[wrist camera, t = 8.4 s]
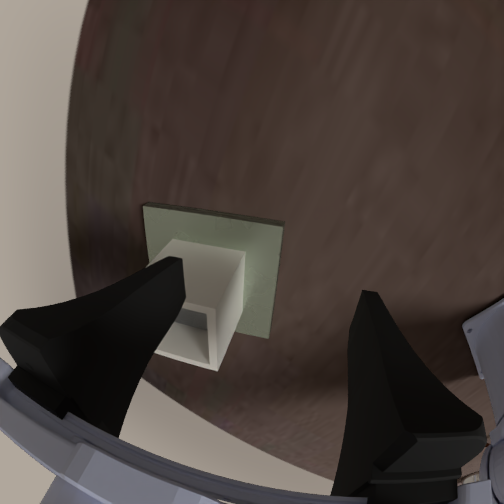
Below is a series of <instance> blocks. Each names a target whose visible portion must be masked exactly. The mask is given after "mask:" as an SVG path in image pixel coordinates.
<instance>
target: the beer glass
mask: <svg viewBox="0 0 504 504" xmlns="http://www.w3.org/2000/svg"><path fill="white" fill-rule="evenodd" d="M476 481H479V471H478V472H475V473H472V474H470V475H468V476H466V477H464V478H463V479H462V480H461V483H462V485H463V484H466V483H471V482H476Z"/></svg>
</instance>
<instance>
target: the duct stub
mask: <svg viewBox="0 0 504 504" xmlns="http://www.w3.org/2000/svg"><path fill="white" fill-rule="evenodd" d="M143 213H144V223H145V232H146V240H147V248H148V256H149V263H150V262H151V261H152V260H153V259H154V258H155V257H156V256H157V255H158V254H159V253H160V252H161V251H162V249H163V248H164V247H165V246H166V245H167V244H168V243H169V242H170V241H171V240H172V239H176V240H182V241H187V242H193V243H199V244H204V245H210V246H216V247H222V248H227V249H233V250H239V251H244V252H245V270H244V289H243V310H242V314H241V317H240V319H239V321H238V324H237V326H236V329H235V332H239V333H244V334H248V335H253V336H258V337H262V338H267V339H269V335H270V331H271V324H272V317H273V310H274V303H275V296H276V288H277V281H278V273H279V266H280V258H281V250H282V242H283V234H284V225H285V222H283V221H276V220H270V219H264V218H258V217H251V216H245V215H238V214H232V213H225V212H218V211H211V210H204V209H197V208H190V207H183V206H175V205H168V204H160V203H152V202H148V203H146V204H145V205H144V206H143ZM174 322H176V323H180V324H184V325H188V326H191V327H195V328H199V329H203V330H207V331H208V328H207V314H204V313H200V312H196V311H192V310H188V309H184V308H181V310H180V312H179V314H178V316H177V318H176V320H175V321H174Z"/></svg>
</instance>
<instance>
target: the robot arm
mask: <svg viewBox="0 0 504 504" xmlns="http://www.w3.org/2000/svg"><path fill="white" fill-rule="evenodd" d="M185 299H186V291H185V281H184V271H183V260H182V258H178V257H173V256H168V257H165V258H163V259H161V260H159V261H157V262H155V263H153V264H152V265H150V266H148V267H146V268H144V269H142V270H140V271H138V272H136V273H135V274H133V275H131V276H129V277H127V278H125V279H123V280H121V281H119V282H116V283H114V284H112V285H110V286H108V287H106V288H104V289H101V290H99V291H96V292H94V293H91V294H88V295H86V296H82V297H79V298H76V299H73V300H69V301H66V302H63V303H58V304H54V305H49V306H44V307H37V308H29V309H20V310H16V311H15V312H14V313H13V314H12V315H11V316H10V317H9V318H8V319H7V320H6V321H5V322H4V323H3V324H2V325H1V326H0V337H1V339H2V341H3V343H4V344H5V346H6V348H7V350H8V351H9V353H10V354H11V356H12V358H13V359H14V360H15V362H16V364H17V367H16V368H15V369H13V368H12V367H11V366H10V365H9V364H8V363H6V362H5V361H4V360H3V359H1V358H0V430H1V431H2V432H3V433H4V434H5V435H7V436H8V437H9V438H10V439H11V440H12V441H13V442H14V443H15V444H17V445H18V446H19V447H20V448H21V449H23V450H24V451H25V452H26V453H28V454H29V455H30V456H31V457H32V458H34V459H35V460H36V461H38V462H39V463H40V464H41V465H43V466H44V467H46V468H47V469H48V470H50V471H51V472H52V473H54V474H55V475H56V477H55V479H54V481H53V482H52V484H51V486H50V488H49V489H48V491H47V493H46V494H45V496H44V498H43V499H42V501H41V503H40V504H226V503H223V502H220V501H219V500H223V501H227V502H231V503H235V504H504V298H503V299H502V300H500V301H499V302H497V303H495V304H494V305H492V306H491V307H489V308H487V309H486V310H484V311H482V312H481V313H479V314H477V315H475V316H474V317H472V318H470V319H468V320H467V321H465V322H464V323H463V325H462V328H463V330H464V333H465V336H466V338H467V341H468V344H469V347H470V349H471V352H472V355H473V358H474V361H475V364H476V367H477V371H478V374H479V377H480V379H485V383H486V386H487V390H488V394H489V397H490V401H491V405H492V409H493V414H494V418H495V423H496V428H495V429H494V430H492V431H491V432H490V439H491V444H490V445H489V446H488V447H487V448H486V449H485V451H484V453H483V456H482V460H481V464H480V470H479V481H476V482H471V483H466V484H463V485H460V486H457V479H459V478H460V477H461V475H462V472H461V467H462V466H463V465H465V464H466V463H468V462H469V461H470V460H472V459H473V458H474V457H476V456H477V455H478V454H479V453H480V452H481V451H482V450H483V449H484V447H485V446H486V444H487V438H486V432H485V427H484V422H483V418H482V416H480V415H479V414H478V413H476V412H475V411H474V410H472V409H471V408H470V407H468V406H467V405H466V404H464V403H463V402H462V401H461V400H459V399H458V398H457V397H456V396H455V395H454V394H453V393H451V392H450V391H449V390H448V389H447V388H446V387H445V386H444V385H443V384H442V383H441V382H440V381H439V380H438V379H437V378H436V377H435V376H434V375H433V374H432V372H431V371H430V370H429V369H428V368H427V367H426V366H425V364H424V363H423V362H422V361H421V359H420V358H419V357H418V356H417V354H416V353H415V352H414V350H413V349H412V348H411V346H410V345H409V343H408V342H407V340H406V339H405V337H404V336H403V334H402V333H401V331H400V330H399V328H398V326H397V325H396V323H395V322H394V320H393V318H392V316H391V315H390V313H389V311H388V310H387V308H386V306H385V304H384V303H383V301H382V299H381V297H380V296H379V294H378V292H372V291H366V290H362V293H361V296H360V299H359V302H358V305H357V309H356V312H355V315H354V318H353V321H352V324H351V326H350V331H349V341H348V410H347V418H346V425H345V432H344V438H343V444H342V449H341V454H340V459H339V463H338V468H337V472H336V476H335V480H334V484H333V488H332V491H331V495H330V496H327V495H317V494H308V493H300V492H292V491H287V490H280V489H275V488H269V487H263V486H259V485H254V484H250V483H245V482H241V481H237V480H233V479H229V478H225V477H221V476H217V475H214V474H211V473H207V472H204V471H201V470H197V469H194V468H191V467H188V466H185V465H182V464H179V463H177V462H174V461H171V460H168V459H166V458H163V457H161V456H158V455H155V454H153V453H150V452H148V451H145V450H143V449H141V448H139V447H136V446H134V445H132V444H130V443H127V442H125V441H123V440H121V439H119V435H120V431H121V428H122V425H123V422H124V419H125V416H126V413H127V410H128V408H129V405H130V402H131V399H132V397H133V395H134V392H135V390H136V388H137V385H138V383H139V381H140V379H141V377H142V374H143V372H144V370H145V368H146V366H147V364H148V362H149V360H150V359H151V357H152V355H153V354H154V352H155V351H156V349H157V347H158V346H159V344H160V343H161V341H162V340H163V338H164V337H165V335H166V334H167V332H168V331H169V329H170V327H171V326H172V324H173V323H174V321H175V320H176V318H177V316H178V314H179V312H180V310H181V308H182V306H183V304H184V301H185ZM217 499H219V500H217Z"/></svg>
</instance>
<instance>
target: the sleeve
mask: <svg viewBox="0 0 504 504" xmlns="http://www.w3.org/2000/svg"><path fill="white" fill-rule="evenodd" d="M168 256H173V257H178V258H182V260H183V271H184V281H185V291H186V299H185V301H184V304H183V306H182V308H184V309H188V310H192V311H196V312H200V313H204V314H207V328H208V331H207V330H203V329H199V328H195V327H191V326H188V325H184V324H180V323H176V322H174V323H173V324H172V326H171V327H170V329H169V331H168V332H167V334H166V335H165V337H164V338H163V340H162V341H161V343H160V344H159V346H158V347H157V349H156V351H155V352H154V353H157V354H160V355H163V356H166V357H169V358H172V359H176V360H179V361H182V362H186V363H189V364H193V365H196V366H200V367H203V368H207V369H211V370H215V371H218V369H219V367H220V365H221V362H222V360H223V357H224V355H225V353H226V350H227V348H228V345H229V343H230V341H231V338H232V336H233V333H234V331H235V329H236V326H237V324H238V321H239V319H240V317H241V314H242V310H243V289H244V270H245V252H244V251H239V250H233V249H227V248H222V247H216V246H210V245H204V244H199V243H193V242H187V241H182V240H176V239H172V240H171V241H170V242H169V243H168V244H167V245H166V246H165V247H164V248H163V249H162V251H161V252H160V253H159V254H158V255H157V256H156V257H155V258H154V259H153V260H152V261H151V262H150V263H149V264H148V265H147V266H146V267H148V266H150V265H152V264H153V263H155V262H157V261H159V260H161V259H163V258H165V257H168Z"/></svg>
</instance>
